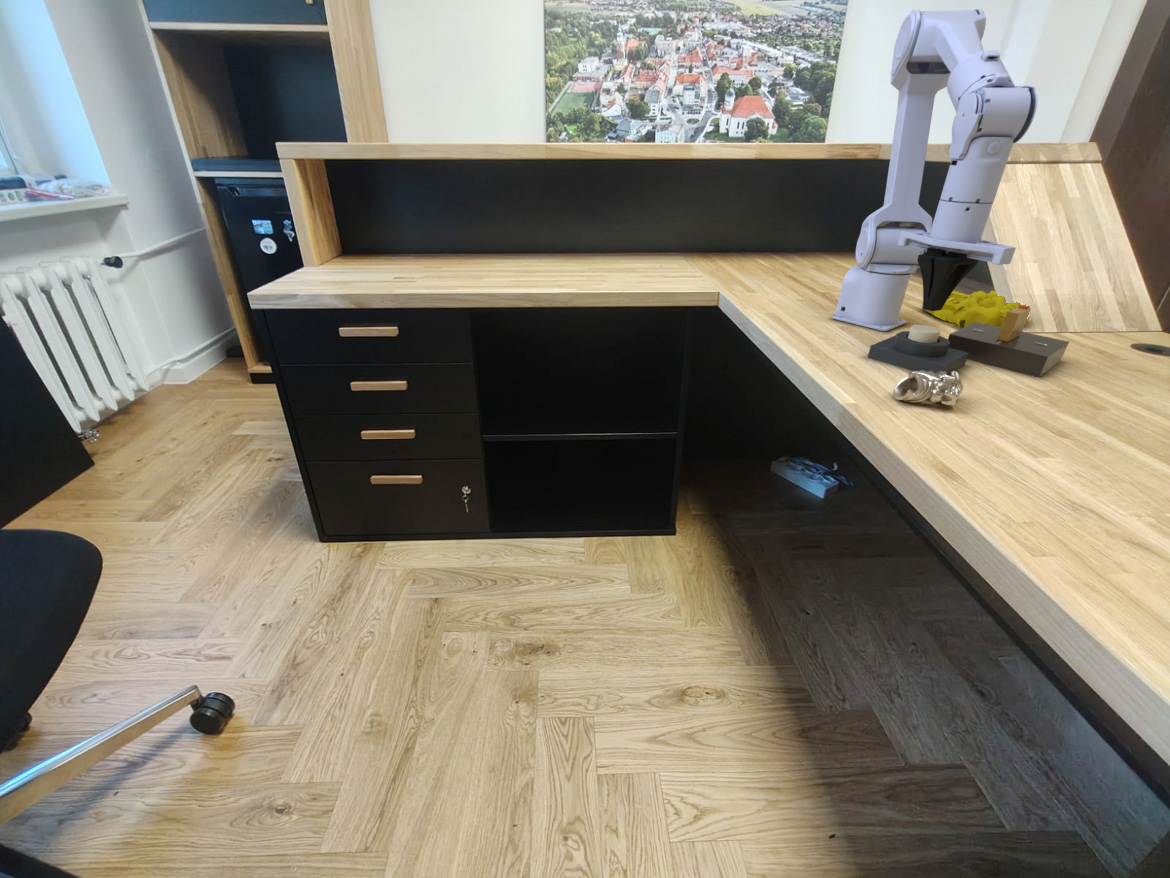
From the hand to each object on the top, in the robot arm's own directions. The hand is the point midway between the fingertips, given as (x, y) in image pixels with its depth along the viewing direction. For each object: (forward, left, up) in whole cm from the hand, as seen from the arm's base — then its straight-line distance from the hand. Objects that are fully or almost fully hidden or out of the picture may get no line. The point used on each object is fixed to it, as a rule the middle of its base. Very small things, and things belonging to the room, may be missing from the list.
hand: (931, 309), depth 75 cm
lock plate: (+7, +12, -8) cm, 16 cm away
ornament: (+7, -13, -8) cm, 17 cm away
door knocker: (-4, +33, -8) cm, 34 cm away
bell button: (0, 0, -5) cm, 5 cm away
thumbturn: (+7, +12, -4) cm, 15 cm away
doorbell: (0, 0, -8) cm, 8 cm away
